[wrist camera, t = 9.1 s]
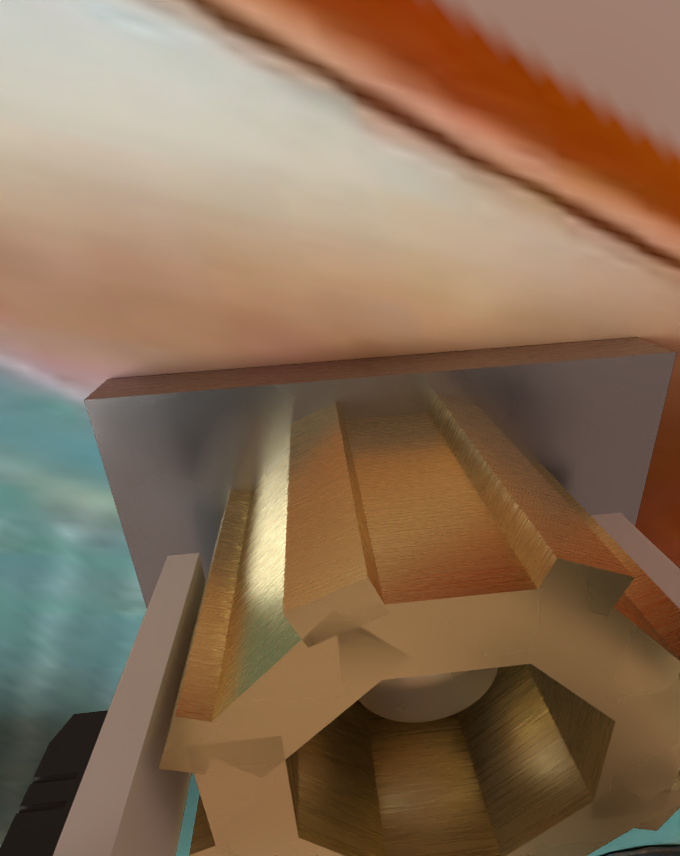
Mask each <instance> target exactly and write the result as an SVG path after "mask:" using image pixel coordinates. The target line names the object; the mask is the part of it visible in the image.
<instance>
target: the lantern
mask: <svg viewBox="0 0 680 856" xmlns="http://www.w3.org/2000/svg"><path fill="white" fill-rule="evenodd" d="M606 856H680V846H672V847H647V848H641V849H635V850H629V851H624V852H618V853H612V854H609V855H606Z"/></svg>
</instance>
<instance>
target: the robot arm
mask: <svg viewBox="0 0 680 856" xmlns="http://www.w3.org/2000/svg"><path fill="white" fill-rule="evenodd" d="M590 516H591V517H592V518H593V519H594V520H595V521H596V522H597V523H598V524H599V525H600V526H601V527H602V528H603V529H604V530H605V531H606V532H607V534H608V535H609V536H610V537H611V538H612V539H613V540H614V541H615V542H616V543H617V544H618V545H619V546H620V547H621V548H622V549H623V550H624V551H625V552H626V553H627V555H628V556H629V557H630V558H631V559H632V560H633V561H634V562H635V563H636V564H637V565H638V566H639V567H640V568H641V569H642V570H643V571H644V572H645V573H646V575H647V576H648V577H649V578H650V579H651V580H652V581H653V582H654V583H655V584H656V585H657V586H658V587H659V588H660V589H661V590H662V591H663V592H664V593H665V594H666V596H667V597H668V598H669V599H670V600H671V601H672V602H673V603H674V604H675V605H676V606H677V607H678V608H679V609H680V569H679V568H678V567H677V566H676V565H675V564H674V563H673V562H672V561H671V560H670V559H669V558H668V557H667V556H666V555H664V554H663V553H662V552H661V551H660V550H659V549H658V548H657V547H656V546H655V545H654V544H653V543H652V542H651V541H650V540H649V539H648V538H646V537H645V536H644V535H643V534H642V533H641V532H640V531H639V530H638V529H637V528H636V527H635V526H634V525H633V524H632V523H631V522H629V521H628V520H627V519H626V518H625V517H624V516H623V515H622V514H621V513H620V512H619V513H609V514H598V515H590ZM205 583H206V580H205V576H204V571H203V567H202V563H201V558H200V554H199V553H192V554H182V555H171V556H167V558H166V561H165V564H164V566H163V569H162V571H161V574H160V577H159V579H158V582H157V585H156V587H155V590H154V592H153V595H152V598H151V600H150V603H149V605H148V608H147V611H146V613H145V616H144V618H143V621H142V624H141V626H140V629H139V632H138V634H137V637H136V639H135V642H134V645H133V647H132V650H131V652H130V655H129V658H128V660H127V663H126V666H125V668H124V671H123V673H122V676H121V679H120V681H119V684H118V686H117V689H116V692H115V694H114V697H113V700H112V702H111V705H110V707H109V710H108V711H99V712H89V713H80V714H74V715H73V716H72V717H71V718H70V720H69V721H68V722H67V723H66V724H65V726H64V727H63V728H62V729H61V730H60V731H59V733H58V734H57V735H56V736H55V737H54V739H53V740H52V741H51V742H50V743H49V745H48V748H47V750H46V752H45V754H44V756H43V758H42V760H41V762H40V765H39V767H38V769H37V771H36V773H35V775H34V781H33V783H32V784H30V786H29V788H28V790H27V792H26V794H25V797H24V799H23V801H22V803H21V805H20V811H19V813H18V814H16V816H15V818H14V820H13V822H12V824H11V826H10V829H9V831H8V833H7V835H6V837H5V839H4V841H3V843H2V846H1V848H0V856H176V851H177V845H178V840H179V835H180V830H181V825H182V819H183V814H184V809H185V804H186V799H187V793H188V788H189V783H190V778H191V773H189V772H181V771H173V770H165V769H159V765H160V761H161V757H162V753H163V749H164V745H165V741H166V737H167V733H168V729H169V725H170V721H171V718H172V714H173V710H174V706H175V702H176V698H177V694H178V690H179V686H180V682H181V678H182V674H183V670H184V666H185V662H186V658H187V654H188V650H189V646H190V643H191V639H192V635H193V631H194V627H195V623H196V619H197V615H198V611H199V607H200V603H201V599H202V595H203V591H204V587H205Z"/></svg>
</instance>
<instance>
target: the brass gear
mask: <svg viewBox="0 0 680 856" xmlns="http://www.w3.org/2000/svg"><path fill="white" fill-rule="evenodd" d="M497 667H498V671H497V674H496V677H495V679H494V681H493V683H492V685H491V686H490V687H489V689H488V690H487V691H486V693H485V694H484V695H483V696H482V697H481V698H479V699H478V700H477V701H476V702H475V703H473V704H472V705H470V706H469V707H467V708H465V709H464V710H462V711H460V712H458V713H455V714H453V715H451V716H448V717H445V718H441V719H437V720H433V721H427V722H400V721H394V720H390V719H387V718H384V717H381V716H379V715H377V714H375V713H373V712H372V711H370V710H368V709H367V708H366V707H365V706H364V705H363V704H362V703H361V702H360V701H359V699H360V698H361V697H362V696H363V695H364V694H366V693H367V692H368V691H369V690H370V689H372V688H373V687H374V686H375V685H377V684H378V683H379V682H380V681H381V680H387V679H396V678H405V677H414V676H424V675H433V674H442V673H451V672H460V671H469V670H478V669H488V668H497ZM679 768H680V609H679V608H678V607H677V606H676V605H675V604H674V603H673V602H672V601H671V600H670V599H669V598H668V597H667V596H666V594H665V593H664V592H663V591H662V590H661V589H660V588H659V587H658V586H657V585H656V584H655V583H654V582H653V581H652V580H651V579H650V578H649V577H648V576H647V575H646V573H645V572H644V571H643V570H642V569H641V568H640V567H639V566H638V565H637V564H636V563H635V562H634V561H633V560H632V559H631V558H630V557H629V556H628V555H627V553H626V552H625V551H624V550H623V549H622V548H621V547H620V546H619V545H618V544H617V543H616V542H615V541H614V540H613V539H612V538H611V537H610V536H609V535H608V534H607V532H606V531H605V530H604V529H603V528H602V527H601V526H600V525H599V524H598V523H597V522H596V521H595V520H594V519H593V518H592V517H591V516H590V515H589V514H588V513H587V511H586V510H585V509H584V508H583V507H582V506H581V505H580V504H579V503H578V502H577V501H576V500H575V499H574V498H573V497H572V496H571V495H570V494H569V493H568V492H567V490H566V489H565V488H564V487H563V486H562V485H561V484H560V483H559V482H558V481H557V480H556V479H555V478H554V477H553V476H552V475H551V474H550V473H549V472H548V470H547V469H546V468H545V467H544V466H543V465H542V464H541V463H538V464H536V465H532V464H531V463H530V462H529V461H528V460H527V459H526V458H525V457H524V455H523V454H522V453H521V452H520V451H519V450H518V449H517V448H516V447H515V446H514V444H513V443H512V442H511V441H510V440H509V439H508V438H507V437H506V436H505V435H504V434H503V432H502V431H501V430H500V429H499V428H498V427H497V426H496V425H495V424H494V423H493V421H492V420H491V419H490V418H489V417H488V416H487V415H486V414H485V413H484V412H483V410H482V409H481V408H479V407H476V406H473V405H470V404H467V403H463V402H460V401H457V400H454V399H451V398H447V397H444V396H441V395H438V394H436V395H435V397H434V399H433V401H432V404H431V406H430V408H429V410H428V412H427V413H422V414H411V415H399V416H387V417H375V418H363V419H352V420H345V419H344V417H343V415H342V414H341V412H340V410H339V408H338V406H337V404H336V402H335V403H333V404H331V405H329V406H327V407H325V408H322V409H320V410H318V411H316V412H314V413H312V414H310V415H308V416H306V417H304V418H302V419H300V420H298V421H296V422H293V423H291V432H290V454H289V455H288V456H287V457H286V458H285V459H284V460H283V461H282V462H281V463H280V464H279V466H278V467H277V468H276V469H275V470H274V471H273V472H272V473H271V474H270V475H269V476H268V477H267V479H266V480H265V481H264V482H263V483H262V484H261V485H260V486H259V487H258V488H257V489H256V490H255V492H254V493H253V494H252V495H251V496H250V495H246V494H242V493H238V492H234V491H230V494H229V498H228V501H227V504H226V508H225V511H224V515H223V518H222V521H221V525H220V528H219V532H218V536H217V540H216V544H215V548H214V552H213V556H212V560H211V564H210V568H209V572H208V575H207V579H206V583H205V587H204V591H203V595H202V599H201V603H200V607H199V611H198V615H197V619H196V623H195V627H194V631H193V635H192V639H191V643H190V646H189V650H188V654H187V658H186V662H185V666H184V670H183V674H182V678H181V682H180V686H179V690H178V694H177V698H176V702H175V706H174V710H173V714H172V718H171V721H170V725H169V729H168V733H167V737H166V741H165V745H164V749H163V753H162V757H161V761H160V765H159V769H165V770H173V771H181V772H189V773H194V776H195V780H196V783H197V786H198V789H199V793H200V795H199V801H198V807H197V813H196V819H195V825H194V830H193V836H192V842H191V848H190V854H189V856H587V855H589V854H590V853H592V852H594V851H595V850H597V849H599V848H600V847H602V846H604V845H606V844H607V843H609V842H611V841H612V840H614V839H616V838H618V837H619V836H621V835H623V834H624V833H626V832H628V831H629V830H631V829H633V828H638V829H646V830H654V831H657V830H658V829H659V828H660V827H661V826H662V825H663V824H664V823H665V822H666V821H667V820H668V819H669V818H670V817H671V816H672V815H673V814H674V813H675V812H676V811H677V810H678V809H679V808H680V771H679Z"/></svg>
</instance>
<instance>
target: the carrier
mask: <svg viewBox="0 0 680 856" xmlns="http://www.w3.org/2000/svg"><path fill="white" fill-rule="evenodd" d="M676 353H677V352H675V351H672V350H670V349H667V348H664V347H662V346H659V345H656V344H654V343H651V342H648V341H646V340H643V339H640V338H638V337H634V338H621V339H608V340H596V341H583V342H570V343H558V344H545V345H532V346H520V347H507V348H495V349H482V350H469V351H457V352H444V353H431V354H419V355H406V356H393V357H381V358H368V359H355V360H343V361H330V362H317V363H305V364H292V365H279V366H267V367H254V368H241V369H229V370H216V371H204V372H191V373H178V374H166V375H153V376H140V377H128V378H115V379H107V380H106V381H105V382H104V383H103V384H102V385H101V386H99V387H98V388H97V389H96V390H95V391H94V392H93V393H91V394H90V395H89V396H88V397H87V398H86V399H85V400H84V402H85V405H86V408H87V412H88V415H89V418H90V422H91V425H92V428H93V432H94V435H95V438H96V442H97V445H98V448H99V451H100V455H101V458H102V461H103V465H104V468H105V471H106V475H107V478H108V481H109V485H110V488H111V491H112V495H113V498H114V501H115V505H116V508H117V511H118V515H119V518H120V521H121V525H122V528H123V531H124V535H125V538H126V541H127V544H128V548H129V551H130V554H131V558H132V561H133V564H134V568H135V571H136V574H137V578H138V581H139V584H140V588H141V591H142V594H143V598H144V601H145V604H146V608H148V605H149V603H150V600H151V598H152V595H153V592H154V590H155V587H156V585H157V582H158V579H159V577H160V574H161V571H162V569H163V566H164V564H165V561H166V558H167V556H171V555H182V554H192V553H199V554H200V558H201V563H202V567H203V571H204V576H205V580H206V579H207V575H208V572H209V568H210V564H211V560H212V556H213V552H214V548H215V544H216V540H217V536H218V532H219V528H220V525H221V521H222V518H223V515H224V511H225V508H226V504H227V501H228V498H229V494H230V491H234V492H238V493H242V494H246V495H250V496H251V495H252V494H253V493H254V492H255V490H256V489H257V488H258V487H259V486H260V485H261V484H262V483H263V482H264V481H265V480H266V479H267V477H268V476H269V475H270V474H271V473H272V472H273V471H274V470H275V469H276V468H277V467H278V466H279V464H280V463H281V462H282V461H283V460H284V459H285V458H286V457H287V456H288V455H289V454H290V432H291V423H293V422H296V421H298V420H300V419H302V418H304V417H306V416H308V415H310V414H312V413H314V412H316V411H318V410H320V409H322V408H325V407H327V406H329V405H331V404H333V403H335V402H336V404H337V406H338V408H339V410H340V412H341V414H342V415H343V417H344V419H345V420H352V419H363V418H375V417H387V416H399V415H411V414H422V413H427V412H428V410H429V408H430V406H431V404H432V401H433V399H434V397H435V395H436V394H438V395H441V396H444V397H447V398H451V399H454V400H457V401H460V402H463V403H467V404H470V405H473V406H476V407H479V408H481V409H482V410H483V412H484V413H485V414H486V415H487V416H488V417H489V418H490V419H491V420H492V421H493V423H494V424H495V425H496V426H497V427H498V428H499V429H500V430H501V431H502V432H503V434H504V435H505V436H506V437H507V438H508V439H509V440H510V441H511V442H512V443H513V444H514V446H515V447H516V448H517V449H518V450H519V451H520V452H521V453H522V454H523V455H524V457H525V458H526V459H527V460H528V461H529V462H530V463H531V464H532V465H536V464H538V463H541V464H542V465H543V466H544V467H545V468H546V469H547V470H548V472H549V473H550V474H551V475H552V476H553V477H554V478H555V479H556V480H557V481H558V482H559V483H560V484H561V485H562V486H563V487H564V488H565V489H566V490H567V492H568V493H569V494H570V495H571V496H572V497H573V498H574V499H575V500H576V501H577V502H578V503H579V504H580V505H581V506H582V507H583V508H584V509H585V510H586V511H587V513H588V514H589V515H598V514H609V513H619V512H620V513H621V514H622V515H623V516H624V517H625V518H626V519H627V520H628V521H629V522H631V523H632V524H633V525H634V526H635V524H636V520H637V516H638V512H639V508H640V504H641V499H642V495H643V491H644V487H645V483H646V478H647V474H648V470H649V466H650V462H651V458H652V453H653V449H654V445H655V441H656V437H657V432H658V428H659V424H660V420H661V416H662V412H663V407H664V403H665V399H666V395H667V391H668V386H669V382H670V378H671V374H672V370H673V366H674V361H675V357H676ZM497 671H498V667H497V668H488V669H478V670H469V671H460V672H451V673H442V674H433V675H424V676H414V677H405V678H396V679H387V680H381V681H380V682H379V683H378V684H377V685H375V686H374V687H373V688H372V689H370V690H369V691H368V692H367V693H366V694H364V695H363V696H362V697H361V698H360V699H359V701H360V702H361V703H362V704H363V705H364V706H365V707H366V708H367V709H368V710H370V711H372V712H373V713H375V714H377V715H379V716H381V717H384V718H387V719H390V720H394V721H400V722H427V721H433V720H437V719H441V718H445V717H448V716H451V715H453V714H455V713H458V712H460V711H462V710H464V709H465V708H467V707H469V706H470V705H472V704H473V703H475V702H476V701H477V700H478V699H479V698H481V697H482V696H483V695H484V694H485V693H486V691H487V690H488V689H489V687H490V686H491V685H492V683H493V681H494V679H495V677H496V674H497Z"/></svg>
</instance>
